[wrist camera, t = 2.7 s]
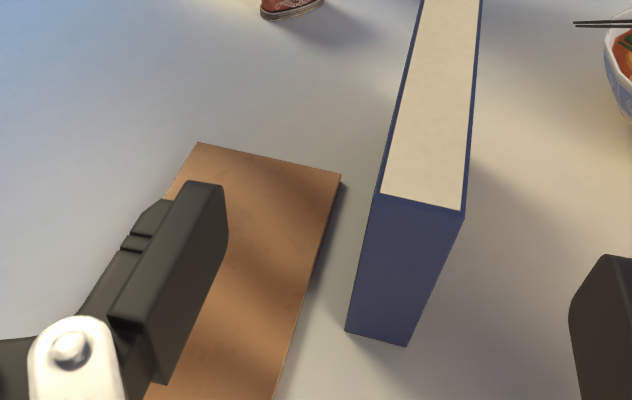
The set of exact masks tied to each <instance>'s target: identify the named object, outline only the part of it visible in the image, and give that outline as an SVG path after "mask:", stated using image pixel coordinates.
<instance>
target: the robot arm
mask: <svg viewBox="0 0 632 400" xmlns="http://www.w3.org/2000/svg"><path fill="white" fill-rule="evenodd" d="M228 239H229V228H228V220H227V211H226V203H225V194H224V189H223V187H222V185H218V184H212V183H206V182H201V181H195V180H187V181H186V182H185V183H184V184H183V186H182V188H181V189H180V191H179V193H178V194H177V196H176V198H175V199H174V201H173V200H167V199H162V198H161V199H160V200H159V201H157V202H156V203H155V204H153V205H152V206H151V207H149V208H148V209H147V210H145V211H144V212H143V213H142V214H141V215H140V217H139V218H138V220H137V222H136V223H135V225H134V226H133V228H132V229H131V231H130V235H129V236H128V235H127V237H126V239H125V240H124V242H123V243H122V245H121V246H120V250H119V251H117V252H116V254H115V256H114V257H113V259H112V260H111V262H110V263H109V265H108V266H107V268H106V269H105V271H104V273H103V274H102V276H101V277H100V279H99V280H98V282H97V283H96V285H95V286H94V288H93V290H92V291H91V293H90V294H89V296H88V297H87V299H86V300H85V302H84V303H83V305H82V306H81V308H80V309H79V311H78V312H77V313H76V314H75V315H74V316H73V317H69V318H65V319H63V320H60V321H58V322H56V323H54V324H52V325H51V326H50V327H48V328H47V329H45V330H44V331H43V332H42V333H41V334H40V335H38V336H33V337H26V338H16V339H6V340H0V400H143V398H144V396H145V394H146V391H147V389H148V387H149V385H150V383H151V382H152V383H156V384H161V385H165V386H168V383H169V381H170V379H171V377H172V374H173V372H174V370H175V367H176V365H177V363H178V361H179V358H180V356H181V354H182V352H183V349H184V347H185V345H186V343H187V340H188V338H189V336H190V333H191V331H192V329H193V327H194V324H195V322H196V320H197V318H198V315H199V313H200V311H201V309H202V306H203V304H204V302H205V299H206V297H207V295H208V293H209V290H210V288H211V286H212V284H213V281H214V279H215V277H216V275H217V272H218V270H219V268H220V266H221V263H222V261H223V259H224V256H225V253H226V250H227V245H228ZM568 324H569V331H570V336H571V342H572V348H573V353H574V359H575V365H576V370H577V376H578V382H579V388H580V393H581V399H582V400H632V258H626V257H620V256H614V255H609V254H604V255H603V256H601V257H600V258H599V260H598V261H597V262H596V264H595V265H594V267H593V268H592V270H591V271H590V273H589V274H588V276H587V277H586V279H585V280H584V282H583V283H582V285H581V286H580V288H579V289H578V291H577V292H576V294H575V295H574V297H573V299H572V301H571V304H570V308H569V315H568Z"/></svg>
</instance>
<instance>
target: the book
mask: <svg viewBox="0 0 632 400" xmlns="http://www.w3.org/2000/svg"><path fill="white" fill-rule="evenodd" d="M482 4H483V0H421V2H420V6H419V10H418V14H417V18H416V23H415V27H414V31H413V35H412V39H411V43H410V47H409V51H408V55H407V59H406V64H405V68H404V72H403V76H402V80H401V84H400V88H399V92H398V96H397V100H396V104H395V109H394V113H393V117H392V121H391V125H390V129H389V133H388V137H387V141H386V145H385V150H384V154H383V158H382V162H381V166H380V170H379V174H378V178H377V182H376V186H375V190H374V195H373V199H372V203H371V208H370V213H369V217H368V222H367V226H366V231H365V236H364V240H363V245H362V250H361V254H360V259H359V263H358V268H357V273H356V277H355V282H354V286H353V291H352V296H351V300H350V305H349V309H348V314H347V319H346V323H345V328H344V331H346V332H350V333H353V334H357V335H361V336H365V337H369V338H372V339H376V340H380V341H384V342H388V343H391V344H395V345H399V346H403V347H407V345H408V343H409V341H410V338H411V336H412V334H413V332H414V330H415V327H416V325H417V323H418V321H419V319H420V316H421V314H422V312H423V310H424V308H425V305H426V303H427V301H428V299H429V297H430V294H431V292H432V290H433V288H434V286H435V283H436V281H437V279H438V277H439V275H440V272H441V270H442V268H443V266H444V264H445V261H446V259H447V257H448V255H449V253H450V250H451V248H452V246H453V244H454V242H455V239H456V237H457V235H458V233H459V231H460V228H461V226H462V224H463V222H464V220H465V210H466V198H467V185H468V173H469V161H470V149H471V137H472V125H473V113H474V101H475V89H476V77H477V65H478V53H479V41H480V28H481V16H482Z"/></svg>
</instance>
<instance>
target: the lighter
mask: <svg viewBox="0 0 632 400" xmlns="http://www.w3.org/2000/svg"><path fill="white" fill-rule="evenodd" d="M323 4H324V0H262V4H261V5H260V14H261V16H262V18H264V19H266V20H269V21H277V20H282V19H287V18H291V17H295V16H298V15H302V14H304V13H307V12H309V11H312V10H314V9H316V8H318V7H320V6H322V5H323Z"/></svg>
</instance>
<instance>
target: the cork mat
mask: <svg viewBox="0 0 632 400" xmlns="http://www.w3.org/2000/svg"><path fill="white" fill-rule="evenodd" d="M187 180H195V181H201V182H206V183H212V184H218V185H222V187H223V189H224V194H225V203H226V211H227V220H228V228H229V239H228V245H227V250H226V253H225V256H224V259H223V261H222V263H221V266H220V268H219V270H218V272H217V275H216V277H215V279H214V281H213V284H212V286H211V288H210V290H209V293H208V295H207V297H206V299H205V302H204V304H203V306H202V309H201V311H200V313H199V315H198V318H197V320H196V322H195V324H194V327H193V329H192V331H191V333H190V336H189V338H188V340H187V343H186V345H185V347H184V349H183V352H182V354H181V356H180V358H179V361H178V363H177V365H176V367H175V370H174V372H173V374H172V377H171V379H170V381H169V383H168V386H165V385H161V384H156V383H152V382H151V383H150V385H149V387H148V389H147V391H146V394H145V396H144V398H143V400H273V398H274V394H275V391H276V388H277V385H278V381H279V378H280V375H281V372H282V368H283V365H284V362H285V359H286V355H287V352H288V349H289V346H290V342H291V339H292V336H293V333H294V330H295V326H296V323H297V320H298V317H299V313H300V310H301V307H302V304H303V300H304V297H305V294H306V291H307V287H308V284H309V281H310V278H311V274H312V271H313V268H314V265H315V262H316V258H317V255H318V252H319V249H320V245H321V242H322V239H323V236H324V232H325V229H326V226H327V223H328V219H329V216H330V213H331V210H332V206H333V203H334V200H335V197H336V194H337V190H338V187H339V184H340V180H341V174H339V173H335V172H330V171H326V170H321V169H317V168H312V167H308V166H303V165H299V164H294V163H290V162H286V161H281V160H277V159H272V158H268V157H263V156H259V155H254V154H250V153H246V152H241V151H237V150H232V149H228V148H223V147H219V146H214V145H210V144H205V143H201V142H197V144H196V145H195V147H194V149H193V150H192V152H191V154H190V155H189V157H188V159H187V160H186V162H185V163H184V165H183V167H182V168H181V170H180V172H179V173H178V175H177V177H176V178H175V180H174V182H173V183H172V185H171V187H170V188H169V190H168V192H167V193H166V195H165V197H164V198H163V199H167V200H173V201H174V199H175V198H176V196H177V194H178V193H179V191H180V189H181V188H182V186H183V184H184V183H185V182H186V181H187Z"/></svg>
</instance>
